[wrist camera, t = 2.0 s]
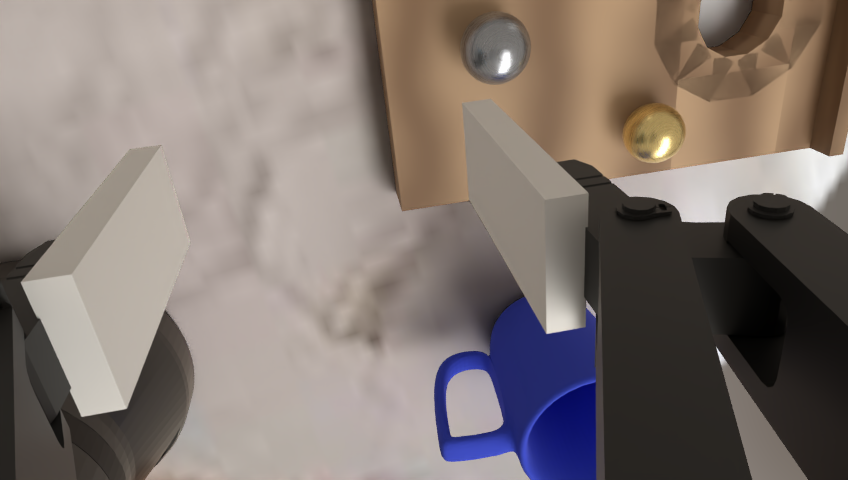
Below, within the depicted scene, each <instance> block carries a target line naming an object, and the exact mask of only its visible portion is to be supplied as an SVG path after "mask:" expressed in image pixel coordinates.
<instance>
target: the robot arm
mask: <svg viewBox="0 0 848 480" xmlns="http://www.w3.org/2000/svg"><path fill="white" fill-rule="evenodd" d="M462 108H463V122H464V136H465V150H466V164H467V178H468V192H469V200H470V202H471V204H472V205H473V207H474V209H475V211H476V212H477V214H478V216H479V218H480V219H481V221H482V223H483V225H484V226H485V228H486V230H487V232H488V233H489V235H490V237H491V238H492V240H493V242H494V244H495V245H496V247H497V249H498V251H499V252H500V254H501V256H502V258H503V259H504V261H505V263H506V264H507V266H508V268H509V270H510V271H511V273H512V275H513V277H514V278H515V280H516V282H517V284H518V285H519V287H520V289H521V291H522V292H523V294H524V296H525V297H526V299H527V301H528V303H529V304H530V306H531V308H532V310H533V311H534V313H535V315H536V317H537V318H538V320H539V322H540V323H541V325H542V327H543V329H544V330H545V332H546V334H549V333H555V332H561V331H566V330H572V329H577V328H583V327H586V300H587V302H588V303H589V304H590V306H591V307H592V308H593V310H594V311H595V313H596V333H595V365H594V367H596V480H752V477H751V474H750V470H749V466H748V463H747V459H746V455H745V452H744V448H743V444H742V441H741V437H740V433H739V430H738V426H737V422H736V419H735V415H734V412H733V409H732V404H731V401H730V397H729V393H728V389H727V386H726V382H725V379H724V375H723V371H722V367H721V364H720V360H719V356H718V353H717V349H716V347H717V348H718V350H719V351H720V353H721V354H722V356H723V357H724V359H725V360H726V361H727V363H728V364H729V366H730V367H731V369H732V370H733V372H735V374H736V376H737V377H738V379H739V380H740V382H741V383H742V385H743V386H744V387H745V389H746V390H747V392H748V393H749V395H750V396H751V398H752V399H753V400H754V402H755V403H756V405H757V406H758V407H759V409H760V411H761V412H762V413H763V415H764V416H765V418H766V419H767V421H768V422H769V424H770V425H771V426H772V428H773V429H774V431H775V432H776V434H777V435H778V437H779V438H780V440H781V441H782V442H783V444H784V445H785V447H786V448H787V450H788V451H789V452H790V454H791V455H792V457H793V458H794V460H795V461H796V463H797V464H798V466H799V467H800V468H801V470H802V471H803V473H804V474H805V475H806V477H807V479H808V480H848V234H847V233H846V232H844V231H843V230H842V229H840V228H839V227H838V226H836V225H835V224H834V223H832V222H831V221H830V220H828V219H827V218H825V217H824V216H823V215H822V214H820V213H819V212H817V211H816V210H815V209H813V208H812V207H811V206H809V205H807V204H805V203H803V202H801V201H799V200H795V199H792V198H788V197H787V196H785V195H781V194H776V195H773V194H774V193H763V194H761V195H747V196H742V197H738V198H736V199H734V200H732V201H730V202H729V204H728V206H727V210H726V218H725V222H707V223H694V222H682V221H681V217H680V214H679V212H678V210H677V209H676V208H675V206H673V205H671V204H669V203H667V202H665V201H662V200H658V199H654V198H647V197H629V196H628V195H626V194H625V193H624V192H623V191H622V190H620V189H619V188H618V187H617V186H616V185H615V184H611V181H610V180H609V179H608V178H606V177H605V176H603V174H602V173H600V172H599V171H598V170H597V169H596V168H595V167H593V166H592V165H589V164H586V163H584V162H581V161H578V160H575V159H573V160H566V161H560V162H556V161H555V160H554V159H553V158H552V157H551V156H550V155H549V154H547V153H546V152H545V151H544V150H543V149H542V148H541V147H540V146H539V145H538V144H537V143H536V142H535V141H534V140H533V139H532V138H531V137H530V136H529V135H528V134H527V133H526V132H525V131H524V130H523V129H521V128H520V127H519V126H518V125H517V124H516V123H515V122H514V121H513V120H512V119H511V118H510V117H509V116H508V115H507V114H506V113H505V112H504V111H503V110H502V109H501V108H500V107H499V106H498V105H497V104H496V103H494V102H493V101H492V100H491V99H486V100H479V101H472V102H465V103H462ZM190 243H191V242H190V239H189V235H188V232H187V229H186V226H185V222H184V219H183V216H182V212H181V209H180V206H179V202H178V199H177V196H176V192H175V189H174V186H173V182H172V179H171V176H170V172H169V169H168V166H167V162H166V159H165V156H164V152H163V149H162V146H161V145H158V146H151V147H144V148H136V149H130V150H129V151H128V152H127V153H126V155H125V156H124V157H123V158H122V159H121V161H120V162H119V163H118V164H117V166H116V167H115V168H114V169H113V170H112V172H111V173H110V174H109V175H108V177H107V178H106V179H105V180H104V181H103V183H102V184H101V185H100V186H99V188H98V189H97V190H96V191H95V192H94V194H93V195H92V196H91V197H90V198H89V200H88V201H87V202H86V203H85V205H84V206H83V207H82V208H81V209H80V211H79V212H78V213H77V214H76V216H75V217H74V218H73V219H72V220H71V222H70V223H69V224H68V225H67V227H66V228H65V229H64V230H63V231H62V233H61V234H60V235H59V236H58V238H57V239H56V240H51V241H47V242H45V243H44V244H42V245H41V246H39V247H37V248H36V249H34V250H33V251H31V252H30V253H28V254H27V255H26V256H25V257H24V258H23V259H22V261H14V262H6V263H1V264H0V480H145V478H146V477H147V476H148V474H149V473H150V472H151V470H152V469H153V468H154V467H155V466H156V465H157V464H158V463H159V462H160V461H161V460H162V459H163V457H164V456H165V455H166V454H167V453H168V452H169V450H170V449H171V448H172V446H173V445H174V443H175V442H176V440H177V438H178V436H179V435H180V433H181V431H182V428H183V426H184V423H185V420H186V417H187V413H188V409H189V406H190V402H191V398H192V393H193V388H194V367H193V362H192V357H191V354H190V351H189V348H188V346H187V343H186V341H185V339H184V337H183V335H182V334H181V332H180V330H179V329H178V327H177V326H176V324H175V323H174V322H173V321H172V319H171V318H170V317H169V316H168V315H167V314H166V312H165V308H166V305H167V303H168V300H169V298H170V295H171V292H172V290H173V287H174V285H175V282H176V279H177V277H178V274H179V272H180V269H181V266H182V264H183V261H184V259H185V256H186V253H187V251H188V248H189V246H190Z"/></svg>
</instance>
